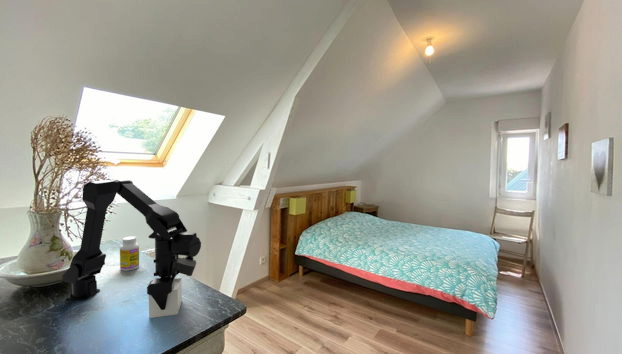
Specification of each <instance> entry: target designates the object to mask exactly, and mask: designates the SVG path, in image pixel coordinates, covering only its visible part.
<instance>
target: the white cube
mask: <svg viewBox="0 0 622 354" xmlns="http://www.w3.org/2000/svg"><path fill="white" fill-rule="evenodd" d="M182 283H183V280H182V278H181V277H179V278H175V279H174V288H173V290H172V292H171V293H169V294H168V298H167V303H166V308H165V310H161V309H160V308H159V306H158V304H157V303H156V301H155V300H154V299H153V297H152V296H151V295H148V318H149V319H152V318H159V317H161V318H162V317H167V316H175V315H176V316H177V315H179V312H180V309H181V305H182V302H183V297H182V295H183V290H182V289H183V288H182V287H183V285H182Z"/></svg>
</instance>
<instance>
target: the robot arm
mask: <svg viewBox="0 0 622 354" xmlns="http://www.w3.org/2000/svg"><path fill="white" fill-rule="evenodd" d="M116 195H119V196H120V197H121V198H122V199H123V200H125V202H127V203H128V204H130V205H131V206H132V207H133V208H134V209H135V210H137V211H138V212H139V213H140V214H142V215H143V216H144V218H145V221H146V222H145V223H146V224H147V226H148V227H149V228H150V229H151V230H152V231H153V232H152V233H151V234H149V235H148V238H149V239H154V254H155V255H154V258H153V263H154V264H155V267H154V268H155V270H154V272H153V277H156V278H153V279H152V280H150V282H149V284H148V285H147V287H146V295H148V296H149V295H151V296H152V297H153V299H154V300H155V301H156V303H157V304H158V306H159V308H160V309H161V310H165V308H166V303H167V298H168V294H169V293H171V292H172V290H173V288H174V279H176V277H177V276H178V275H179V274H181V275H186V276H188V277H191V276H193V273H194V270H195V269H196V265H197V261H196V260H195V259H194V257H196V256H198V254H199V253H200V251H201V247H202V242H201V240H200V237H198V236H197V232H188V229H187V227H186V226H185V225H184V223H183V221H182V220H181V218H180V215H179V214H178V212H177V211H175V210H174V209H171V208H169V207H168V206H164V205H161V204H159V203H157V202H155V200H153V199H152V198H151V197H149V196H148V195H147V194H146V193H145V192H144V191H142V190H141V189H140V188H138V187H137V186H136V185H135V184H134V183H133V181H132V180H130V179H128V178H124V179H115V180H113V181H112V180H109V179H108V180H96V181H87V183H85V184H84V185H83V187H82V201H83V202H84V205H85V206H86V207H87V208H86V215H85V220H84V225H83V232H82V236H81V243H80V247H79V249H78V251H77V252H76V253H75V254H74V255H73V257H72V260H71V262H70V265H69V268H68V269H66V271H65V272H64V273H63V274H62V275H61V276H62V277H61V278H62V281H63V283H69V293H70V294H69V295H68V296H66V297H65V300H75V301H85V300H88V299H89V298H90V297H92V296H94V295H95V294H97V293H99V292H100V291H101V289H100V288H98V283H97V282H98V281H97V280H96V279H97V278H96V275H98V274H101V271H102V269H103V268H104V266H105V265H106V262H105V261H106V258H107V254H106V253H103V251H102V250H101V241H102V237H103V231H104V226H105V220H106V215H107V210H108V207H110V206H111V204H112V203H113V202H114V201H115V199H116ZM179 256H182V257H179ZM183 256H184V257H183ZM157 277H158V278H157Z"/></svg>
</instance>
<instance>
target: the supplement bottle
mask: <svg viewBox="0 0 622 354" xmlns="http://www.w3.org/2000/svg"><path fill="white" fill-rule="evenodd" d="M122 243H123V244H121V245H120V246H119V268H120V270H121V272H123V271H124V272H130V271H134V270H137V269H138V268H139V267H140V245H139V243H138V242H137V236H134V235H133V236H126V237H123V238H122Z"/></svg>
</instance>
